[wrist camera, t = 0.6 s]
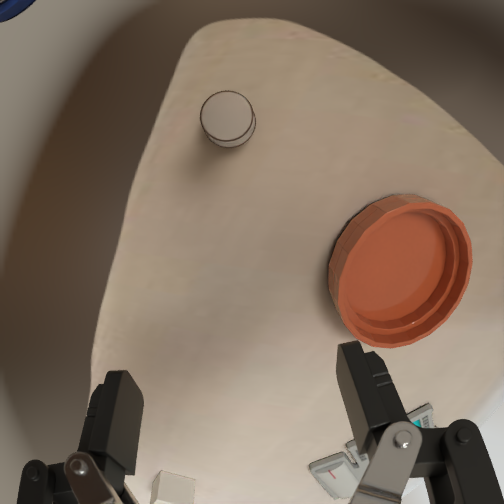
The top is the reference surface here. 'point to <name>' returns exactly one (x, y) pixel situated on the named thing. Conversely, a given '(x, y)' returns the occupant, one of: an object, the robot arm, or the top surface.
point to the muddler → (227, 119)
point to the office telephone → (349, 475)
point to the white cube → (172, 489)
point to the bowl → (399, 270)
